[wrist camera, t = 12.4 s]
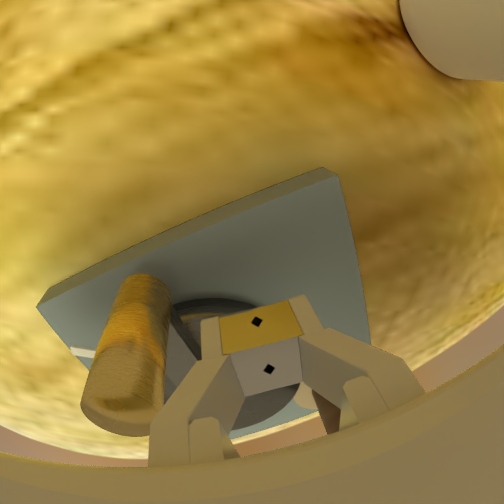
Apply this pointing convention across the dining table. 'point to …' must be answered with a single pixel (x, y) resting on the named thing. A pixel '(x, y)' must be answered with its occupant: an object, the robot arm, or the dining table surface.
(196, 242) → the board
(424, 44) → the pill bottle
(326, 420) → the brown bottle
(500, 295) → the dining table surface
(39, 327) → the dining table surface
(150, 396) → the dial
